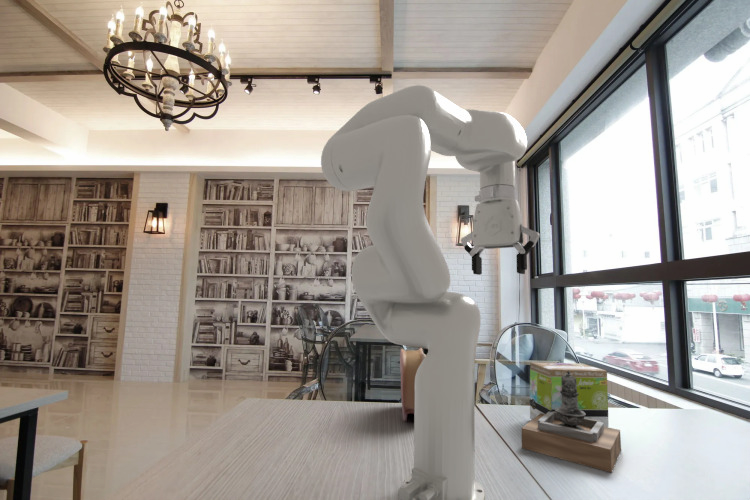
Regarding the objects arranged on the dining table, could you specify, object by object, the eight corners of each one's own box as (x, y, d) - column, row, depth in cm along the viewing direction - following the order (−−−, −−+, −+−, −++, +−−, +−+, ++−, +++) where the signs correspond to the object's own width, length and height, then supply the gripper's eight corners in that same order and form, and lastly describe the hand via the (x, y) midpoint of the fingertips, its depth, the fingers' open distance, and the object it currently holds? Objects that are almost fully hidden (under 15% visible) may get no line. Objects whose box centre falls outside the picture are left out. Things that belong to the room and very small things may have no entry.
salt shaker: (559, 422, 83) (557, 366, 84) (589, 429, 79) (586, 370, 80) (551, 429, 78) (550, 370, 80) (583, 436, 74) (581, 374, 76)
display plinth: (611, 472, 68) (610, 440, 68) (521, 448, 78) (521, 420, 78) (621, 449, 78) (619, 422, 79) (541, 430, 88) (540, 406, 89)
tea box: (552, 433, 87) (550, 368, 89) (529, 419, 97) (528, 361, 99) (610, 432, 89) (607, 369, 91) (582, 419, 99) (580, 361, 100)
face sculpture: (429, 428, 87) (430, 356, 90) (400, 427, 88) (401, 355, 90) (420, 404, 107) (421, 345, 109) (396, 403, 107) (398, 344, 110)
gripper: (454, 199, 86) (454, 273, 84) (532, 187, 75) (534, 272, 73) (468, 206, 92) (469, 275, 89) (543, 195, 81) (545, 274, 78)
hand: (498, 273), depth 81 cm, fingers open, 9 cm apart
